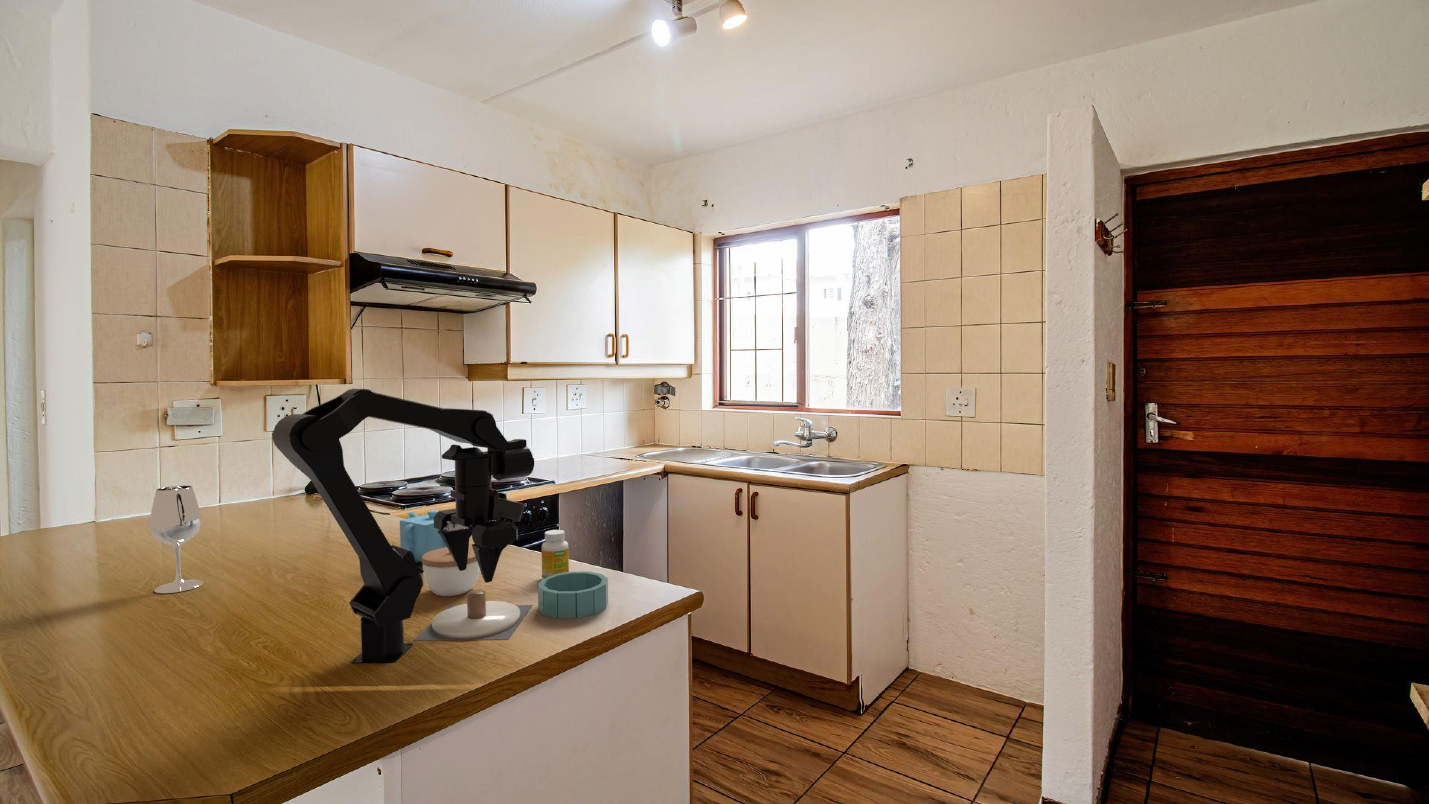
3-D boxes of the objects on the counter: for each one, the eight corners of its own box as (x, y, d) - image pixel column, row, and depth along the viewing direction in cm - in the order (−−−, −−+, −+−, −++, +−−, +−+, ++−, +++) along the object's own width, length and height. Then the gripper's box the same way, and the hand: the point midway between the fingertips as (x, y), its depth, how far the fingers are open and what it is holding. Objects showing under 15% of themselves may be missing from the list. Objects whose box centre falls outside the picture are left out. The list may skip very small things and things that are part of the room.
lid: (506, 638, 104) (505, 607, 104) (417, 639, 104) (416, 608, 104) (529, 605, 118) (528, 578, 118) (450, 606, 118) (450, 579, 118)
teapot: (428, 575, 138) (426, 522, 137) (378, 562, 147) (376, 512, 147) (489, 556, 151) (488, 508, 151) (440, 545, 161) (438, 500, 160)
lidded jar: (462, 604, 121) (460, 554, 120) (410, 600, 123) (408, 551, 122) (492, 585, 131) (491, 539, 131) (444, 582, 133) (443, 536, 133)
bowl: (602, 621, 113) (601, 592, 112) (531, 622, 112) (531, 593, 112) (611, 597, 125) (611, 571, 124) (548, 597, 124) (547, 571, 124)
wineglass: (145, 590, 129) (140, 489, 128) (192, 578, 136) (187, 483, 135) (165, 596, 125) (160, 493, 124) (211, 584, 132) (207, 486, 131)
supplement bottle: (555, 584, 132) (554, 536, 131) (536, 579, 135) (535, 533, 134) (574, 577, 136) (573, 530, 136) (555, 572, 139) (555, 527, 139)
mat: (508, 642, 104) (508, 639, 104) (413, 643, 104) (413, 640, 104) (532, 607, 119) (532, 604, 119) (449, 608, 119) (449, 605, 119)
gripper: (545, 484, 109) (547, 577, 110) (491, 472, 122) (492, 555, 123) (482, 493, 101) (484, 593, 102) (431, 480, 114) (433, 568, 115)
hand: (475, 576), depth 111 cm, fingers open, 9 cm apart
